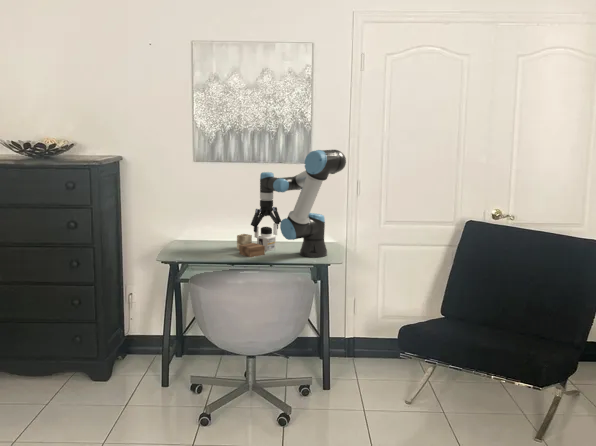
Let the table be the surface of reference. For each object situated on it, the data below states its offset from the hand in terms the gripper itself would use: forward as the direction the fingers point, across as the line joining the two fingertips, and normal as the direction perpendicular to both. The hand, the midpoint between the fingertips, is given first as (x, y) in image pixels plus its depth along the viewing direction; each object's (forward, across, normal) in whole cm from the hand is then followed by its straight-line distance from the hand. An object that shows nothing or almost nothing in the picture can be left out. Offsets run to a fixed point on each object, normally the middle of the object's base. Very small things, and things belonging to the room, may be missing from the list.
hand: (265, 236), depth 365 cm
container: (+8, 0, 0) cm, 8 cm away
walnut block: (+8, +14, +6) cm, 17 cm away
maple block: (+8, +9, -8) cm, 15 cm away
